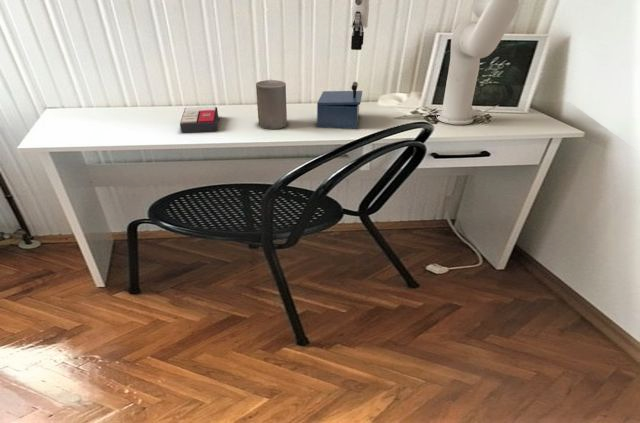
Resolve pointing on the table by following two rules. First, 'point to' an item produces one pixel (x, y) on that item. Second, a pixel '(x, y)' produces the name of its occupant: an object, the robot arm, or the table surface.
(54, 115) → the table surface
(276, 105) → the pillar candle
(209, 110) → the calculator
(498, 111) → the table surface
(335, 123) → the case
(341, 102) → the lid
